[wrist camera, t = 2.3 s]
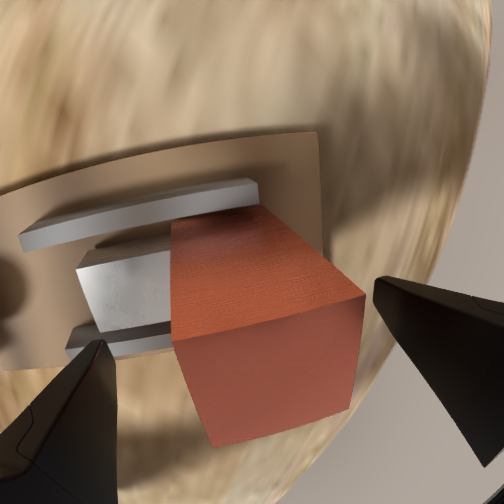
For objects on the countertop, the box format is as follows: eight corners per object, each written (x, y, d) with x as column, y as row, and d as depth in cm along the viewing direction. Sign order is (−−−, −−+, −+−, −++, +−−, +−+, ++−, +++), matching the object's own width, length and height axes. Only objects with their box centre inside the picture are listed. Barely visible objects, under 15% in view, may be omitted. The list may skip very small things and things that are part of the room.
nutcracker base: (-20, 360, 14) (-46, 410, 9) (-77, 230, 10) (-125, 262, 5) (314, 305, 18) (356, 359, 13) (306, 131, 14) (367, 134, 9)
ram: (110, 316, 13) (83, 459, 6) (84, 240, 12) (6, 362, 5) (270, 285, 15) (349, 408, 8) (262, 205, 13) (365, 294, 6)
